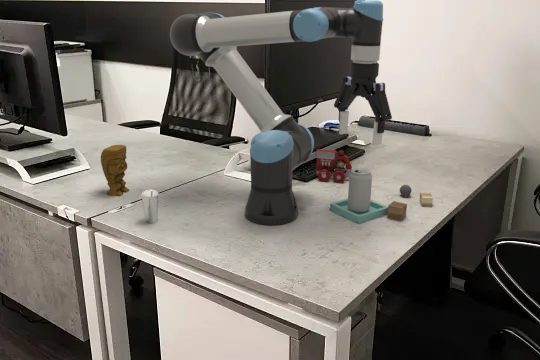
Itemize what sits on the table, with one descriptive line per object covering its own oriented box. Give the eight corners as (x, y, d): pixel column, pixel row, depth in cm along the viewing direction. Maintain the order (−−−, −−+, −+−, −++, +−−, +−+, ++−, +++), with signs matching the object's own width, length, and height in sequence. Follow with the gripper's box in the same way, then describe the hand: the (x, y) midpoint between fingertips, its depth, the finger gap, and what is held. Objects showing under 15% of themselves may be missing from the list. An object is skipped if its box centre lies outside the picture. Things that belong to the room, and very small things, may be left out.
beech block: (431, 207, 155) (432, 198, 154) (421, 207, 156) (422, 197, 155) (429, 201, 160) (430, 192, 159) (419, 200, 160) (420, 191, 159)
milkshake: (145, 226, 142) (143, 192, 139) (142, 219, 147) (139, 186, 143) (162, 224, 144) (160, 190, 140) (158, 216, 148) (155, 183, 145)
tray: (358, 223, 144) (359, 217, 143) (329, 209, 153) (329, 203, 153) (388, 213, 150) (389, 207, 150) (359, 201, 160) (359, 195, 159)
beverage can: (346, 205, 155) (348, 167, 151) (367, 205, 155) (370, 167, 151) (348, 214, 149) (351, 174, 145) (371, 214, 149) (374, 174, 145)
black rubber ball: (405, 198, 162) (406, 187, 160) (396, 195, 164) (397, 184, 163) (413, 196, 164) (414, 185, 162) (404, 192, 166) (405, 182, 165)
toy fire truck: (349, 184, 174) (351, 154, 171) (313, 181, 177) (314, 151, 174) (351, 177, 181) (353, 148, 177) (316, 174, 184) (317, 146, 180)
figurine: (119, 197, 163) (115, 151, 158) (101, 195, 164) (96, 149, 159) (131, 189, 169) (127, 145, 164) (114, 187, 171) (109, 143, 166)
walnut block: (400, 221, 146) (402, 208, 144) (387, 218, 148) (388, 205, 146) (405, 216, 149) (407, 203, 147) (392, 213, 151) (393, 200, 150)
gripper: (410, 66, 131) (402, 147, 138) (344, 56, 150) (339, 127, 158) (389, 68, 127) (382, 151, 134) (324, 57, 146) (320, 131, 154)
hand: (359, 138), depth 146 cm, fingers open, 13 cm apart
